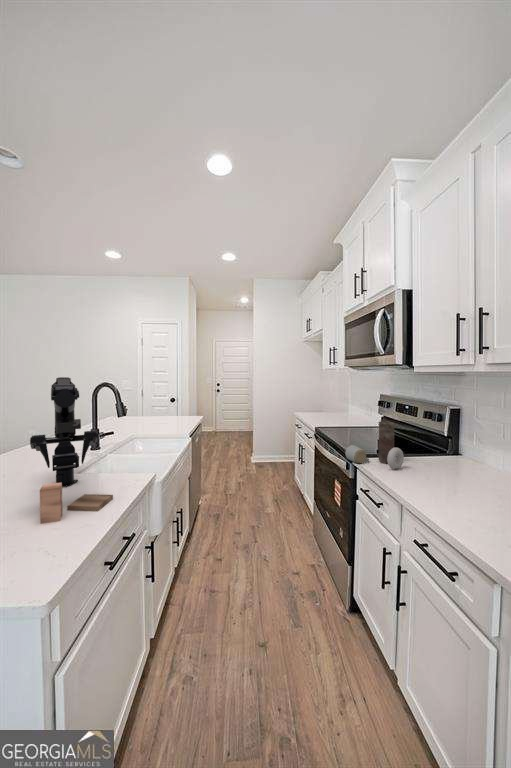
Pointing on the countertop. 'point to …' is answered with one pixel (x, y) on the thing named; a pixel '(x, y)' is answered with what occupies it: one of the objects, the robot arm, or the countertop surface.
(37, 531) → the countertop surface
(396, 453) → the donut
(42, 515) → the pillar
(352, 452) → the grey cylinder
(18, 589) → the countertop surface
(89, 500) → the base board
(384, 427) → the candle
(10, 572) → the countertop surface
